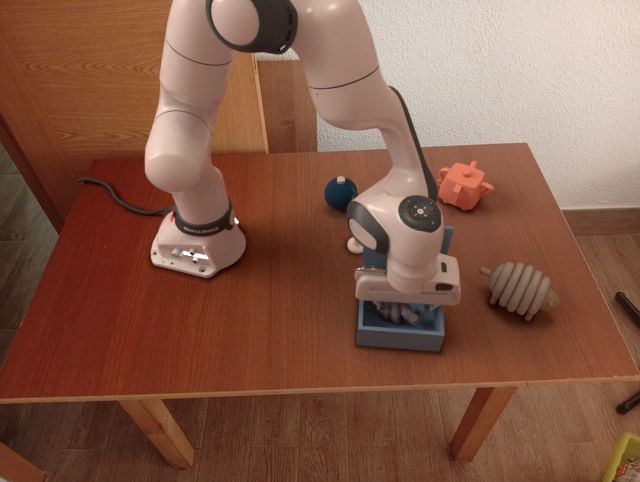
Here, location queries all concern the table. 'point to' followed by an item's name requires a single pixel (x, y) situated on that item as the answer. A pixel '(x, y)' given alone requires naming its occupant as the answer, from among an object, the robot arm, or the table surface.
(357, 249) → the chess piece
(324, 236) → the table surface
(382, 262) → the lid
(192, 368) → the table surface
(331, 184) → the christmas ornament
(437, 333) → the chest
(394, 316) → the seashell
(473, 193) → the teapot
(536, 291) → the toy sheep
